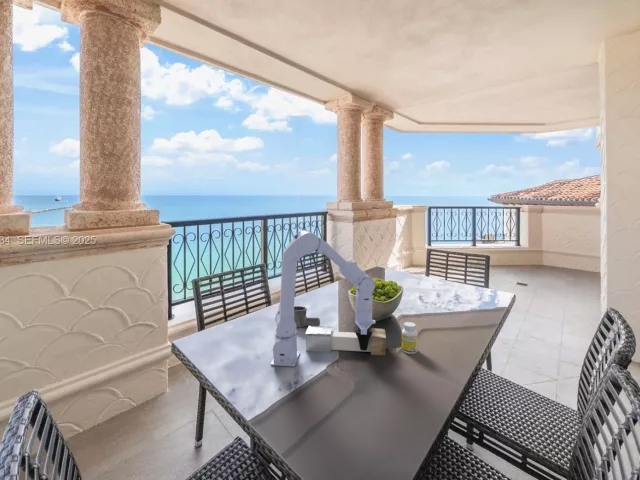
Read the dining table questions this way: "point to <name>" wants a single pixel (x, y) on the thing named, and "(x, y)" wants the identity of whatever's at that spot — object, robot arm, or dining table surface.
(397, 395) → the dining table surface
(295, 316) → the pipe
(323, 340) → the sleeve
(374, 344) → the socket
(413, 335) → the supplement bottle
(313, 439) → the dining table surface
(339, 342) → the long white bar
